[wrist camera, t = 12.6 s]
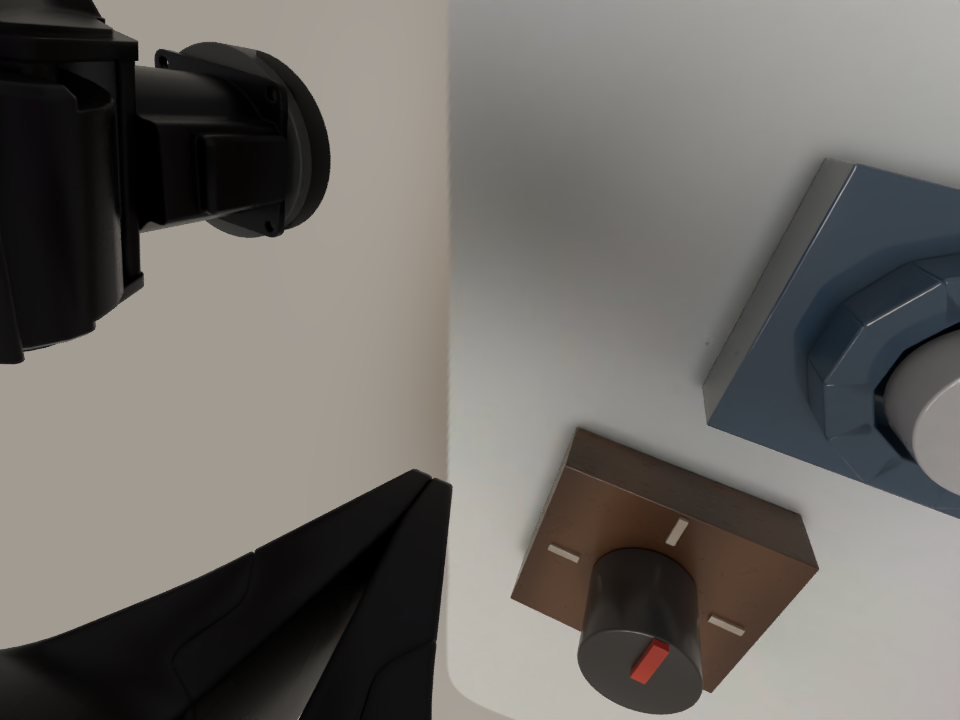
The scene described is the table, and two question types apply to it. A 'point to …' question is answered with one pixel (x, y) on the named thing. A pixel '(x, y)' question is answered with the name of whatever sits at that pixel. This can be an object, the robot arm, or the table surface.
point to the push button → (929, 408)
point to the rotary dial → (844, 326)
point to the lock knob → (642, 633)
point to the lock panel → (666, 544)
